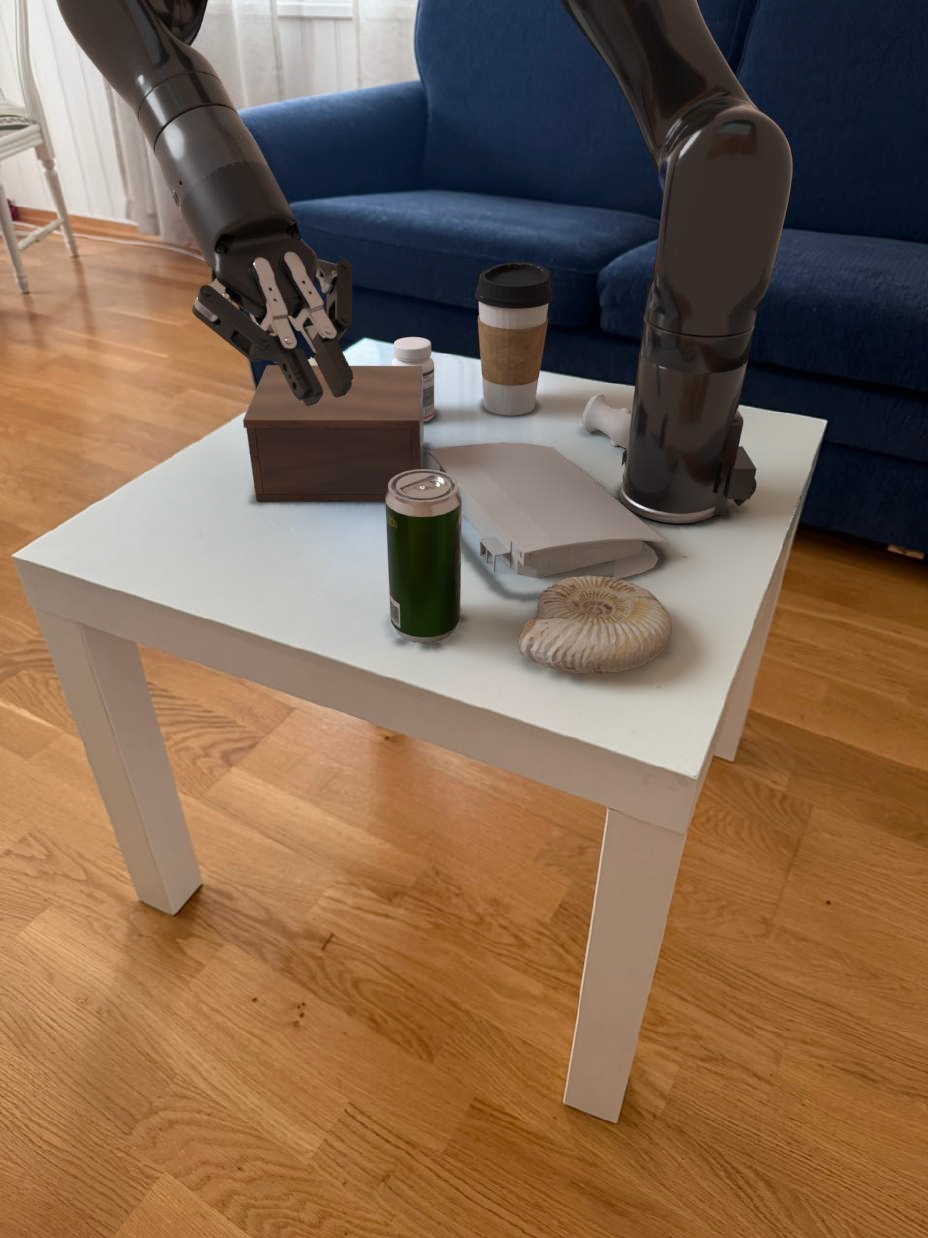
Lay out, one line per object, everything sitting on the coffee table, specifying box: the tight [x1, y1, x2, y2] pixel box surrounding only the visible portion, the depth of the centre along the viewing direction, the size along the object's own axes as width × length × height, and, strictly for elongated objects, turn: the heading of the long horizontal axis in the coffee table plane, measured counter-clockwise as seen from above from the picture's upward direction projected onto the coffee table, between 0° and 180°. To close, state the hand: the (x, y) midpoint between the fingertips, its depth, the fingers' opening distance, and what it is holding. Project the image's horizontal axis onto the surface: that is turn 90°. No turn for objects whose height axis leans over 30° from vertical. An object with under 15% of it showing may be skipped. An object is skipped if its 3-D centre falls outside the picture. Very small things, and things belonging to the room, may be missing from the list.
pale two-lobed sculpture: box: [582, 393, 632, 449], centre depth 97 cm, size 4×8×5 cm
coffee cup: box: [474, 262, 554, 417], centre depth 101 cm, size 8×8×15 cm
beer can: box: [384, 468, 463, 644], centre depth 66 cm, size 5×5×12 cm
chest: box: [245, 376, 425, 503], centre depth 89 cm, size 13×16×8 cm
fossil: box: [518, 575, 673, 674], centre depth 68 cm, size 12×5×10 cm
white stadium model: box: [427, 442, 667, 580], centre depth 82 cm, size 15×23×4 cm, turn 24°
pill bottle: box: [390, 336, 435, 423], centre depth 100 cm, size 5×5×8 cm
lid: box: [242, 364, 423, 429], centre depth 86 cm, size 13×16×1 cm
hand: (330, 395), depth 68 cm, fingers closed
